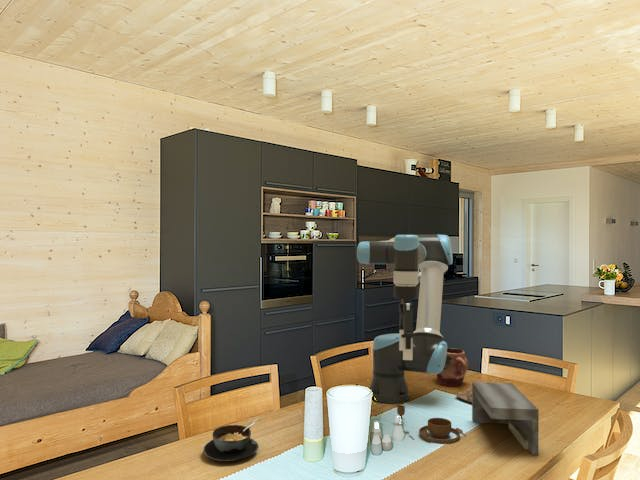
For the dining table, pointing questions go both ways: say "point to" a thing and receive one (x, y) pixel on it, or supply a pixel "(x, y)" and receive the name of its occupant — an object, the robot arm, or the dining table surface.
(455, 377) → the decorative planter
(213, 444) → the soup bowl
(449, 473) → the dining table surface
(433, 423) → the place setting
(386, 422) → the dining table surface
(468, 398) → the shell
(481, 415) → the shelf
